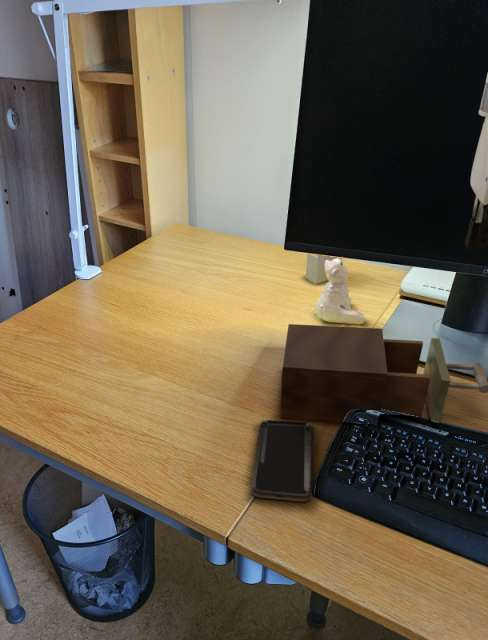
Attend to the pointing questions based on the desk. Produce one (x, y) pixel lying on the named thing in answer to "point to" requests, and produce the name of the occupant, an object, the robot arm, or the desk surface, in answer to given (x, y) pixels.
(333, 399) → the cabinet
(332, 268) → the sitting furry creature
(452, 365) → the drawer
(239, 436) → the desk surface
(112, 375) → the desk surface
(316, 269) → the cream upright block
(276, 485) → the phone
